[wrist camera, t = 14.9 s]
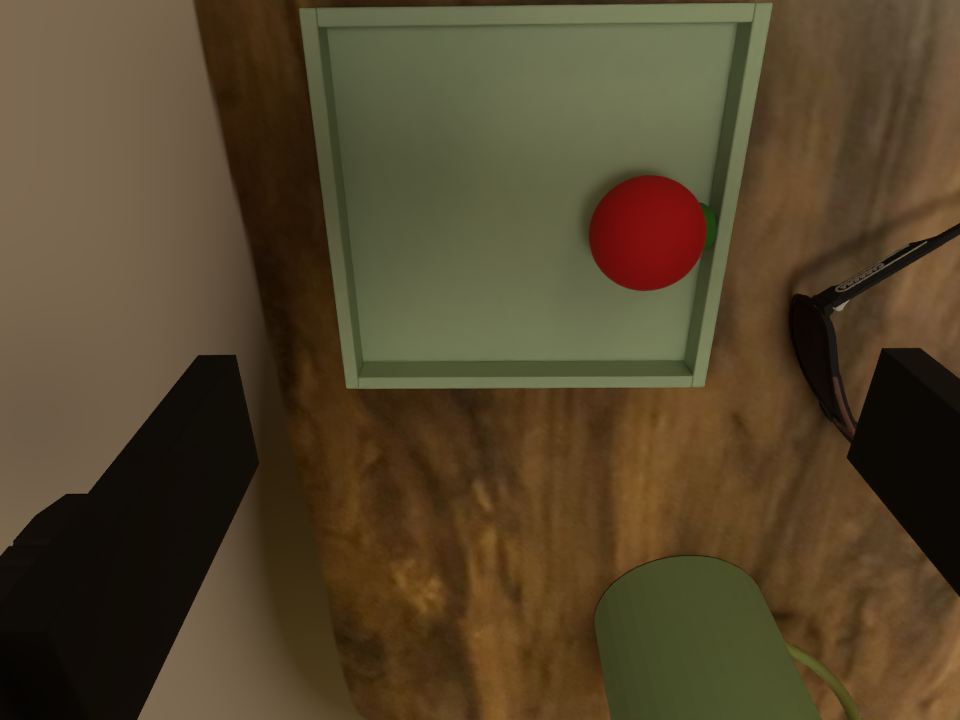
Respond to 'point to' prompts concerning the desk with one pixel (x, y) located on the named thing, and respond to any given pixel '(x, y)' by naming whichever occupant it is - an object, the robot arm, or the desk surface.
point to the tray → (522, 184)
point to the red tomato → (649, 232)
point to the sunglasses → (818, 334)
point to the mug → (700, 648)
